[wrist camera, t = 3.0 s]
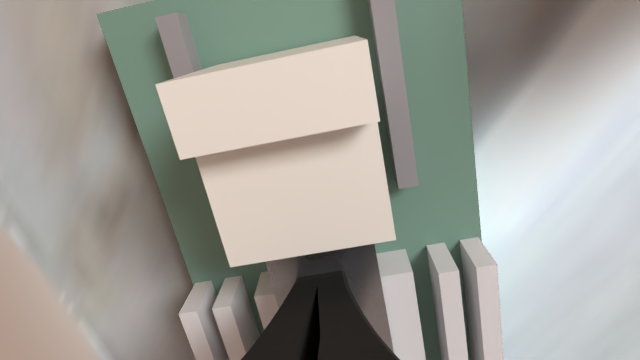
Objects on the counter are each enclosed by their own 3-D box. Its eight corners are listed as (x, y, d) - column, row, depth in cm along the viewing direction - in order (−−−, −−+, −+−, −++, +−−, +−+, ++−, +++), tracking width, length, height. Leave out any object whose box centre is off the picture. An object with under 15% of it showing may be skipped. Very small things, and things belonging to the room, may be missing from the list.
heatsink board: (487, 435, 19) (532, 554, 15) (272, 461, 20) (255, 579, 16) (441, -59, 12) (499, -104, 8) (121, 15, 13) (21, 9, 9)
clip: (379, 183, 13) (401, 257, 9) (256, 205, 14) (221, 287, 9) (354, 35, 12) (367, 39, 7) (217, 64, 12) (154, 84, 8)
